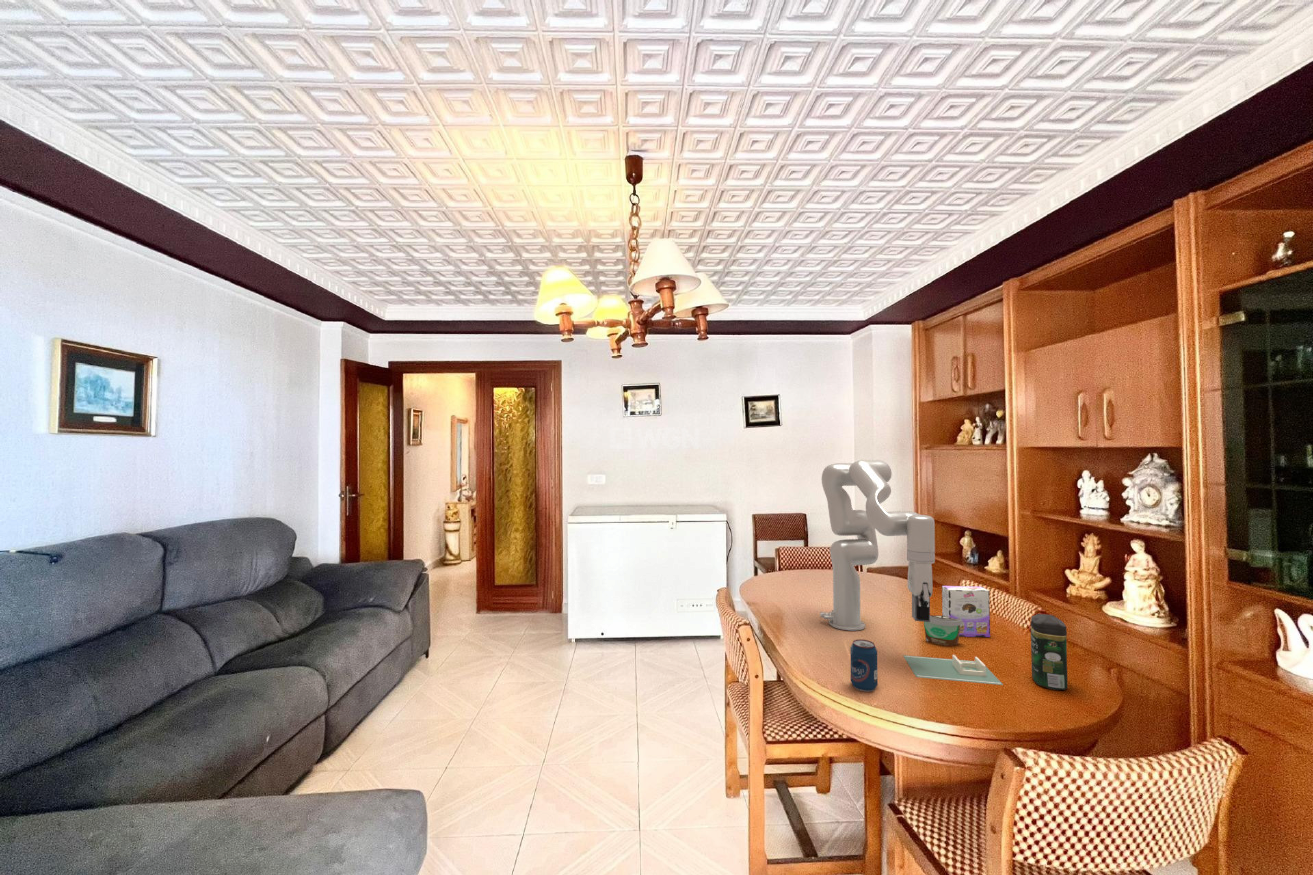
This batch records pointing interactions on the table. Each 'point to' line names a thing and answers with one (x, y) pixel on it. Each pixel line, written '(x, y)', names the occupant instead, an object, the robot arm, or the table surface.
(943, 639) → the food container
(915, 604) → the plug
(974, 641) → the table surface
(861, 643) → the soda can
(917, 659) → the board
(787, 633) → the table surface
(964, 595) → the candy box
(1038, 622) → the coffee jar
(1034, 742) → the table surface
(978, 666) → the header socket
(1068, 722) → the table surface
